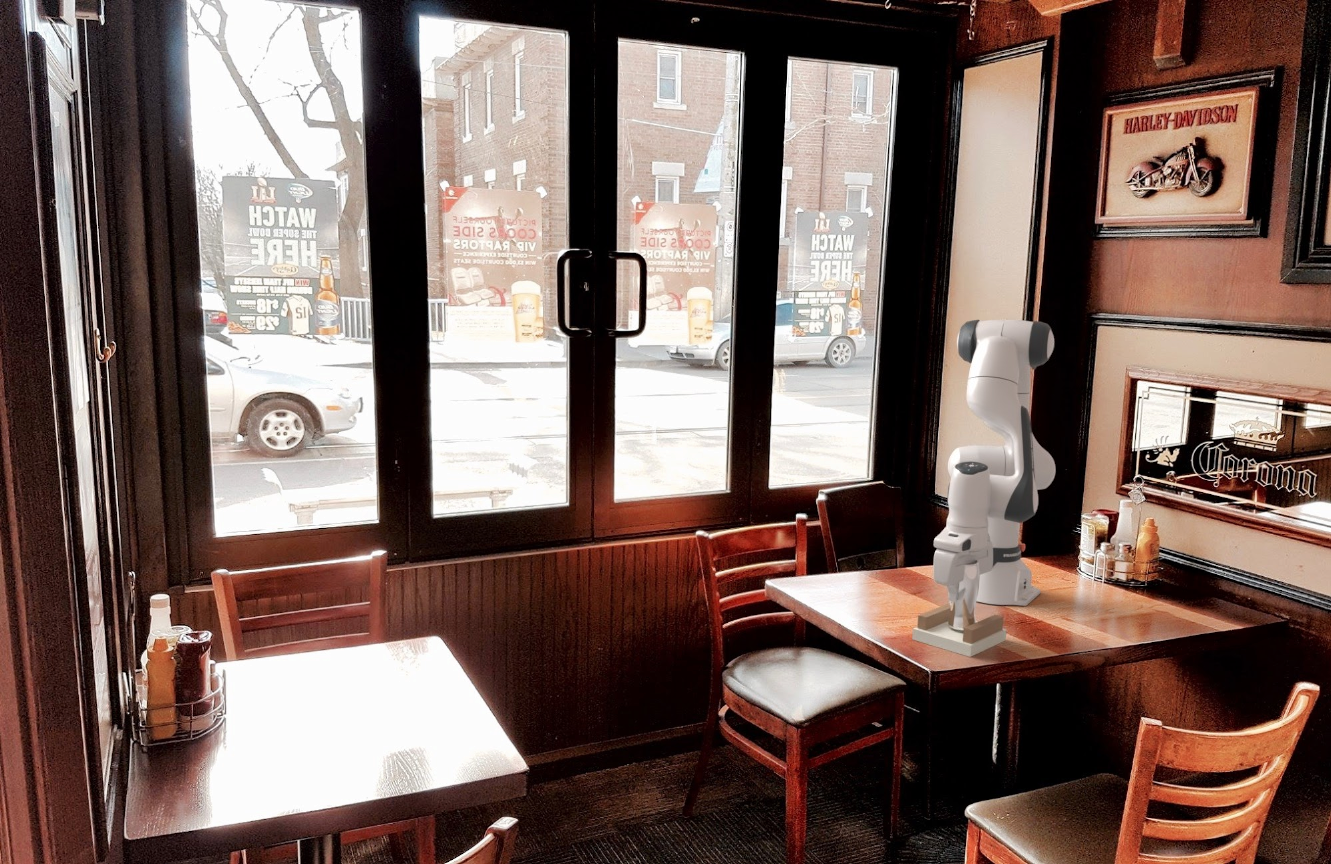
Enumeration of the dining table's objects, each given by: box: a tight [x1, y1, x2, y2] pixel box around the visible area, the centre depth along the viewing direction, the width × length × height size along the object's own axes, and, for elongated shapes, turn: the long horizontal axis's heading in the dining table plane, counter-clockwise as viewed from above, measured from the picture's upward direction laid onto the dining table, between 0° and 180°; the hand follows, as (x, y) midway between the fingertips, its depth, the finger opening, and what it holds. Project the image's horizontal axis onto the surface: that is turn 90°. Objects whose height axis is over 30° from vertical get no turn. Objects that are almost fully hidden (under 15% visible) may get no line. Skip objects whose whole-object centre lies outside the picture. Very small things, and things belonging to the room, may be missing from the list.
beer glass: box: [946, 559, 980, 630], centre depth 218 cm, size 7×7×15 cm
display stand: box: [911, 602, 1008, 658], centre depth 219 cm, size 16×14×6 cm
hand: (962, 597), depth 218 cm, fingers closed on beer glass, 6 cm apart
